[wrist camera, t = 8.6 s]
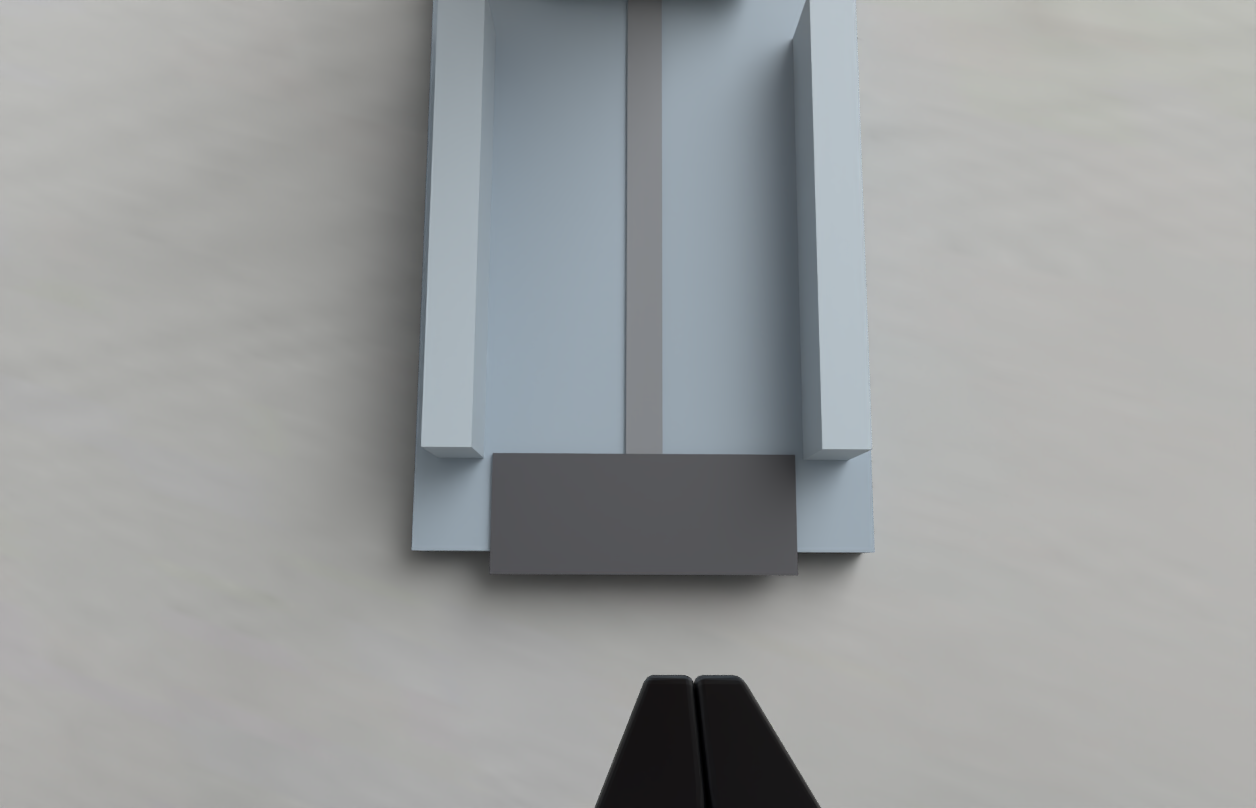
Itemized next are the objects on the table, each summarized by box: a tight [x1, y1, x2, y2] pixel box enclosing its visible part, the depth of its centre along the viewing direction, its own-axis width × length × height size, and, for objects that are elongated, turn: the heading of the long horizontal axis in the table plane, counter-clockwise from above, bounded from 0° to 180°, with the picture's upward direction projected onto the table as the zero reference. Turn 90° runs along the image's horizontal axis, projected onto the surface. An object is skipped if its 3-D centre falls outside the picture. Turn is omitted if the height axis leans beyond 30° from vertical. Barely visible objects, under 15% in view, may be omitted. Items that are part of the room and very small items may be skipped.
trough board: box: [412, 0, 875, 575], centre depth 22 cm, size 18×10×3 cm, turn 0°
